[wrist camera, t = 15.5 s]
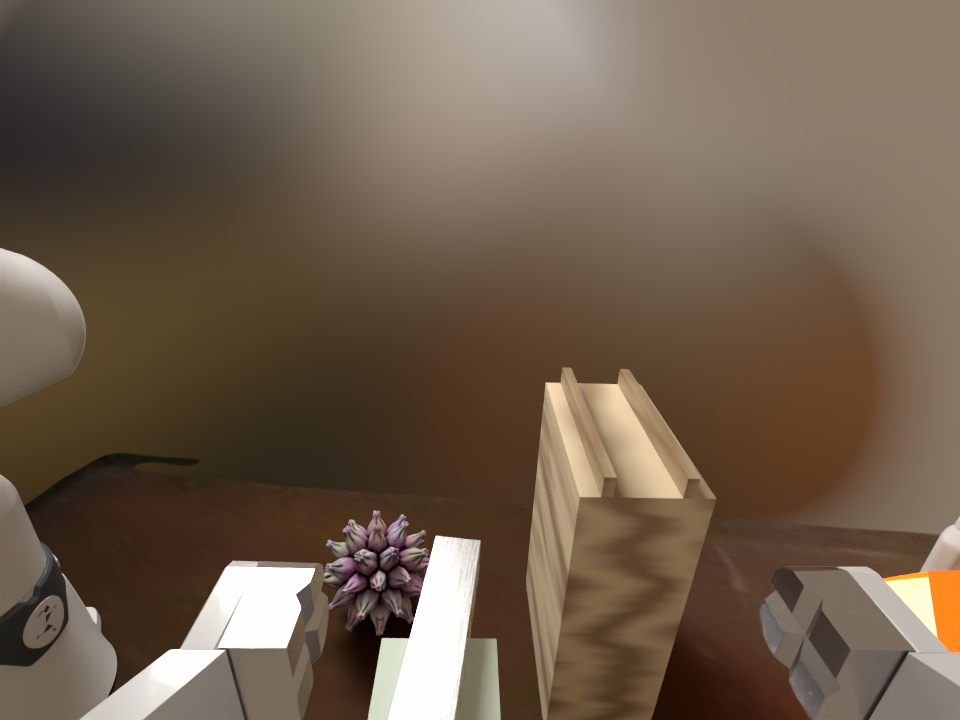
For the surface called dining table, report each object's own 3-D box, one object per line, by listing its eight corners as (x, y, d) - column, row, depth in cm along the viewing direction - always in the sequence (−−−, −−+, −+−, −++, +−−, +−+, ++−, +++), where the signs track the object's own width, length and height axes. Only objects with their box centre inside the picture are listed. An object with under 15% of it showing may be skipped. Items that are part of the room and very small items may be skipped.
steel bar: (406, 1092, 18) (315, 1073, 19) (479, 573, 40) (436, 568, 40) (404, 1063, 17) (304, 1043, 17) (480, 540, 39) (435, 535, 39)
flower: (399, 684, 47) (395, 594, 42) (299, 633, 51) (284, 545, 46) (455, 591, 56) (457, 508, 51) (367, 554, 61) (361, 475, 56)
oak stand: (544, 733, 43) (582, 477, 32) (525, 581, 58) (547, 367, 46) (647, 733, 44) (722, 479, 32) (602, 582, 58) (643, 369, 46)
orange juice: (969, 784, 41) (1106, 615, 33) (867, 789, 40) (979, 619, 32) (892, 687, 48) (988, 528, 40) (805, 690, 48) (883, 530, 39)
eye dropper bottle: (976, 603, 57) (1028, 522, 52) (925, 599, 57) (972, 518, 52) (946, 572, 61) (992, 494, 56) (899, 569, 61) (940, 491, 56)
